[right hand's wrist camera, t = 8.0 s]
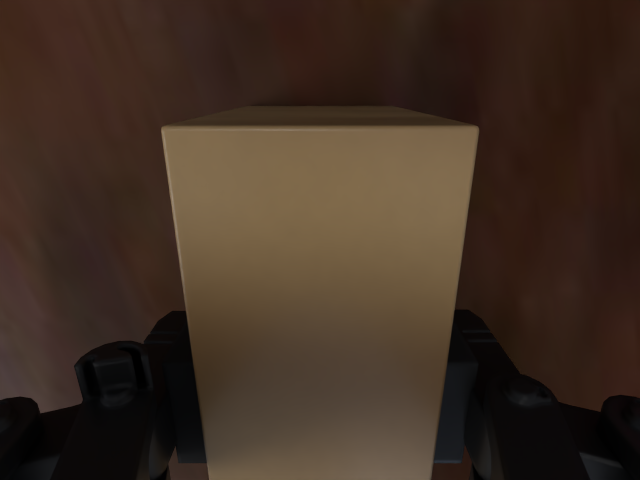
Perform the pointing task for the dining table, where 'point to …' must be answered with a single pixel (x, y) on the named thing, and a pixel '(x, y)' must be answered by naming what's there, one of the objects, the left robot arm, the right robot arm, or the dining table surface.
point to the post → (320, 284)
